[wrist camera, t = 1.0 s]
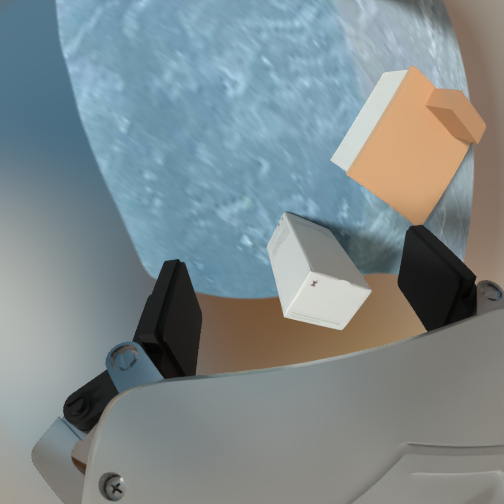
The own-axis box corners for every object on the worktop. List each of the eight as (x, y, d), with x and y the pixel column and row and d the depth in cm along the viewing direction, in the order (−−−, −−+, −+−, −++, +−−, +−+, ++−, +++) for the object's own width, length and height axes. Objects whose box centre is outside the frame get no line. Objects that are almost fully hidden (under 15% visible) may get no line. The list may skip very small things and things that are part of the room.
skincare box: (265, 245, 41) (278, 318, 28) (284, 207, 38) (310, 268, 25) (312, 262, 43) (341, 334, 30) (333, 228, 40) (375, 291, 27)
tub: (383, 72, 28) (410, 69, 22) (440, 126, 32) (468, 134, 25) (330, 160, 35) (348, 172, 29) (392, 204, 38) (415, 223, 32)
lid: (405, 66, 23) (440, 63, 17) (465, 133, 26) (499, 144, 20) (342, 171, 30) (367, 189, 24) (412, 223, 33) (439, 247, 27)
